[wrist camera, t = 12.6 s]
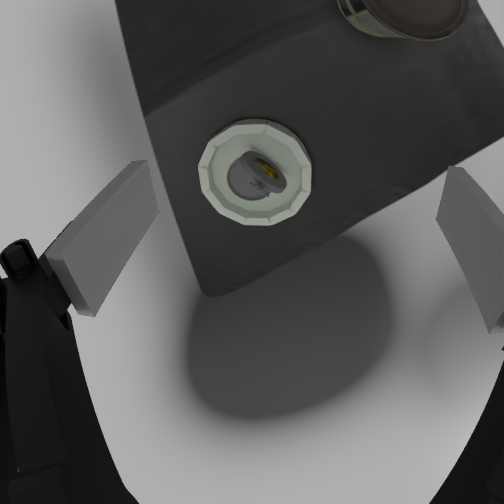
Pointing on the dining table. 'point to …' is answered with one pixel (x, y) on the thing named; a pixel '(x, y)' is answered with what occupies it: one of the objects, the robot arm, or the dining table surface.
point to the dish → (272, 147)
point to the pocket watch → (255, 177)
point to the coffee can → (406, 17)
